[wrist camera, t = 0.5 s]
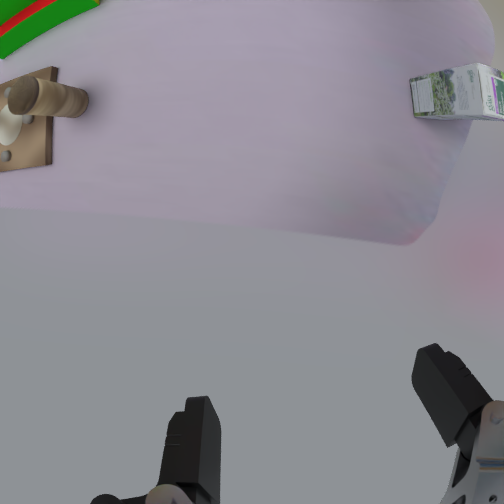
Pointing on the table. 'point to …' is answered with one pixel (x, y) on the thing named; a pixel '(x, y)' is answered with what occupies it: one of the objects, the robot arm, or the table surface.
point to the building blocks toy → (34, 19)
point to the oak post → (46, 98)
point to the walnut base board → (25, 131)
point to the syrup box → (460, 93)
